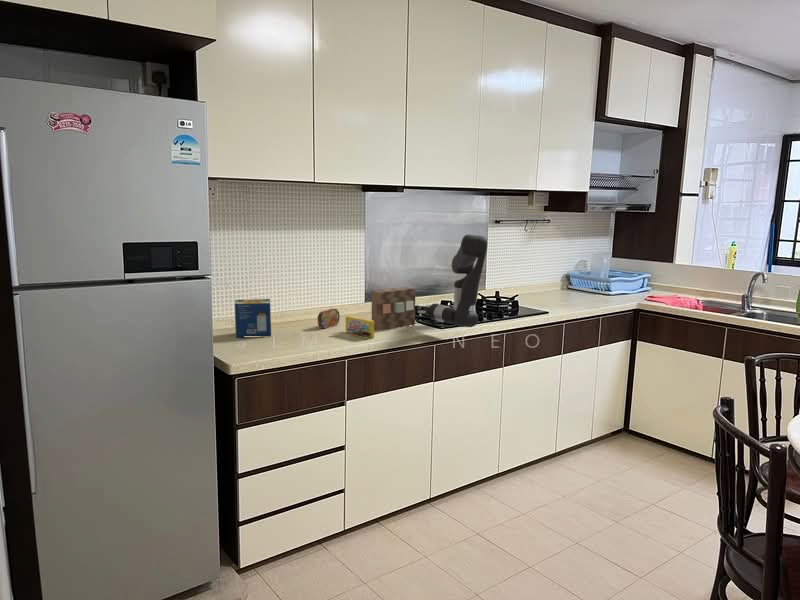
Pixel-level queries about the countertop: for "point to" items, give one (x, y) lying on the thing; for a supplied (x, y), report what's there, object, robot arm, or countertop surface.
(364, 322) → the candy box
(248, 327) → the protein box
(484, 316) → the countertop surface
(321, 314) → the tin
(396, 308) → the sage button
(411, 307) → the cream button
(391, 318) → the button panel
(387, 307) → the terracotta button
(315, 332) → the countertop surface
